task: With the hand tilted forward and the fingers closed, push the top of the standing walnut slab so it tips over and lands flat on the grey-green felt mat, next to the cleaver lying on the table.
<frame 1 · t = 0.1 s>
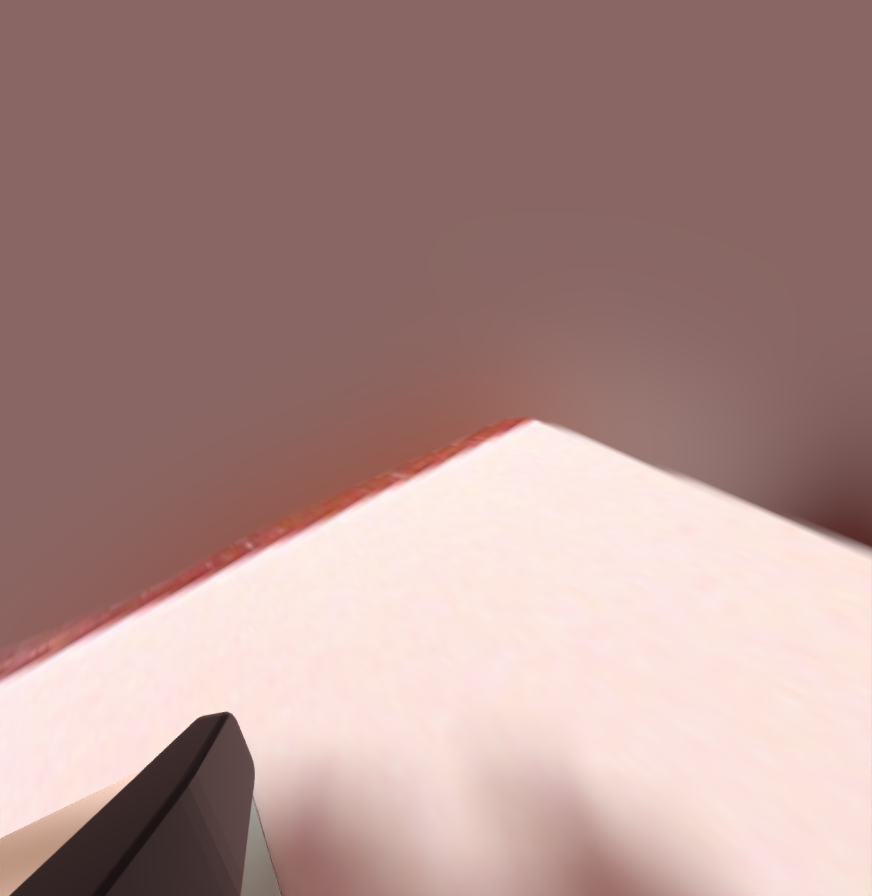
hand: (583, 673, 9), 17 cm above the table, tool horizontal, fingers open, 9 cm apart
mat: (136, 895, 28), on the table
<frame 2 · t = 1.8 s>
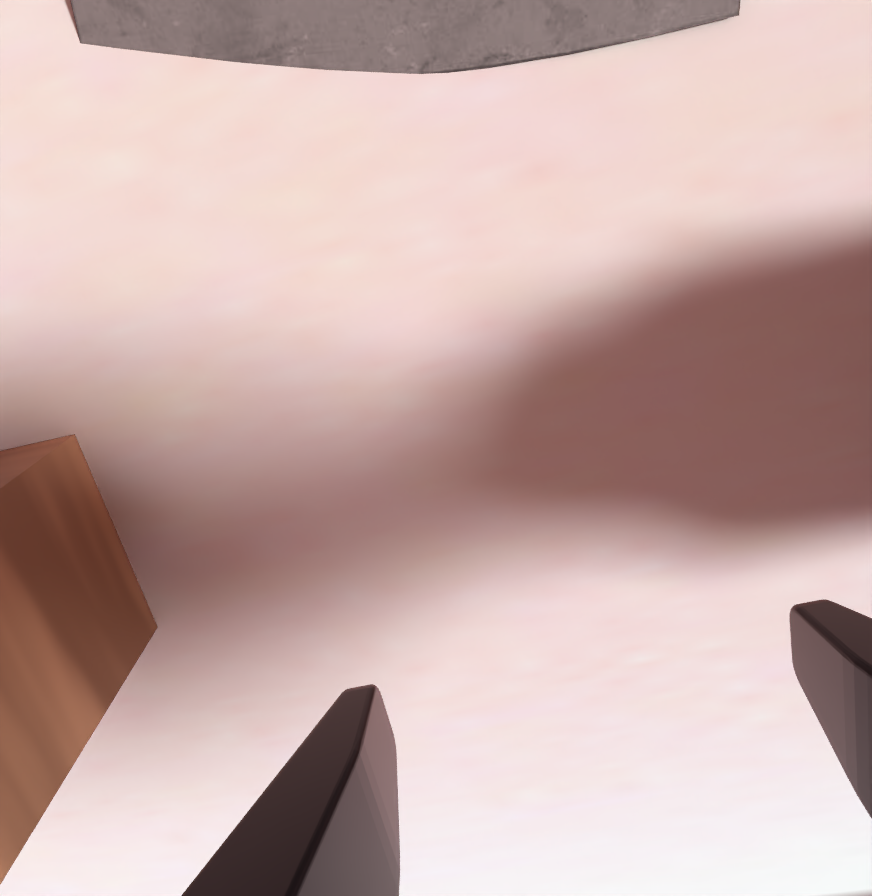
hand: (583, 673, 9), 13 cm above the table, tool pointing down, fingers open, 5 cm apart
slab: (73, 545, 23), on the table
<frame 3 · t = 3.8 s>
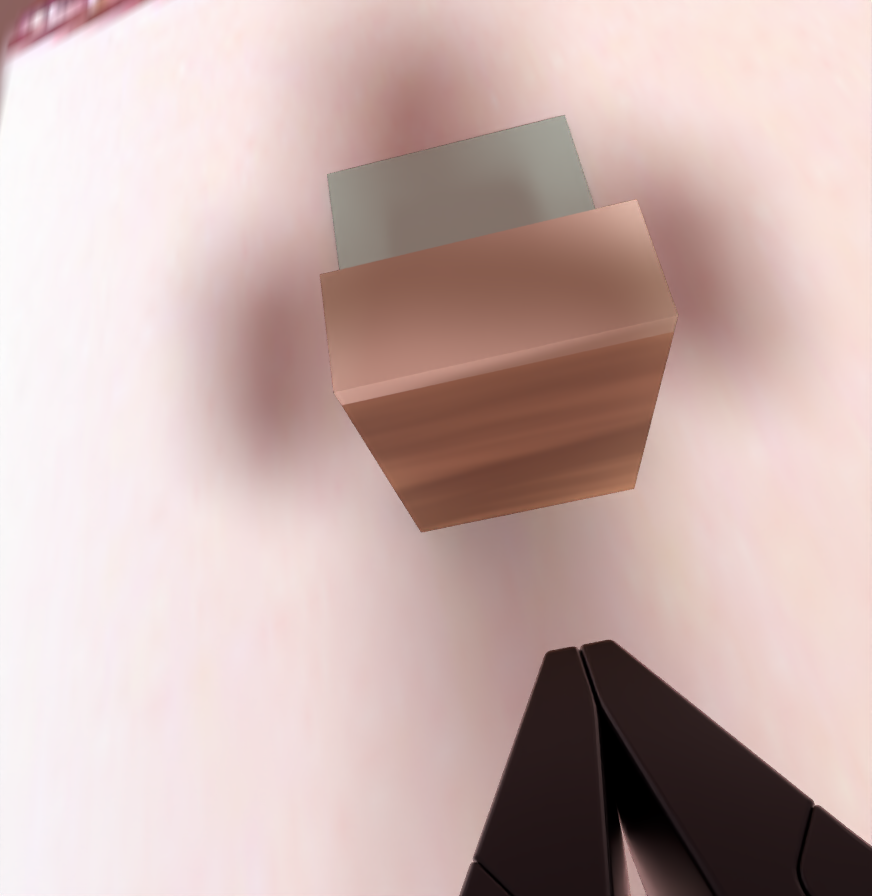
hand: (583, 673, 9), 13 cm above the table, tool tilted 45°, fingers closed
slab: (516, 468, 24), on the table
mat: (471, 265, 28), on the table
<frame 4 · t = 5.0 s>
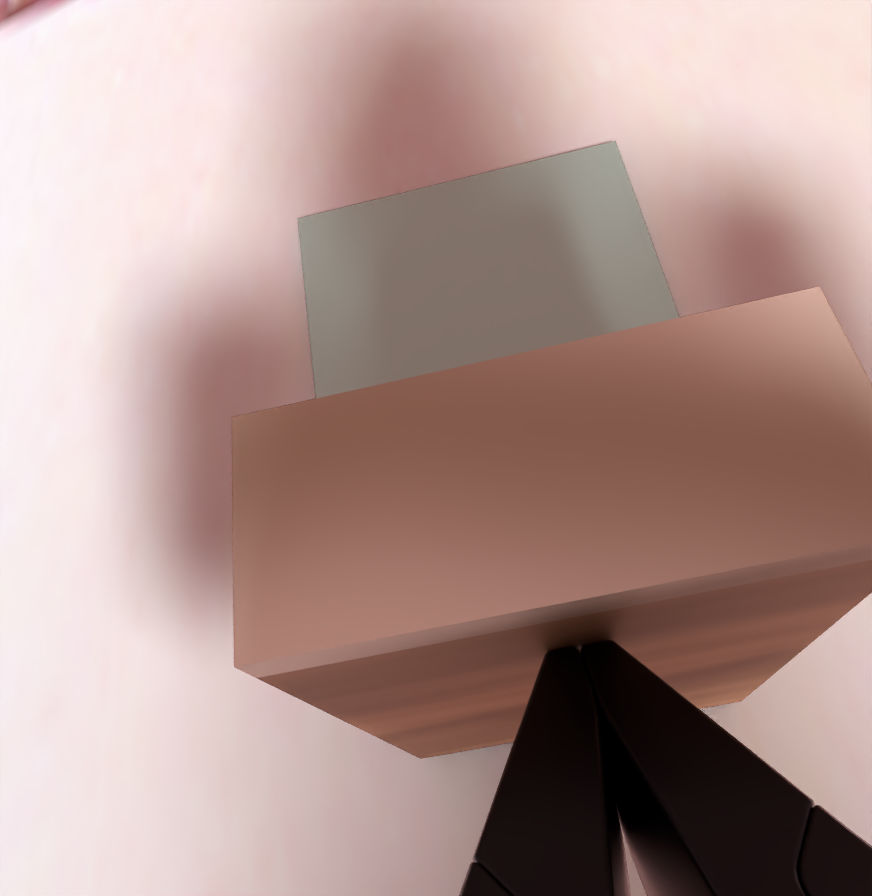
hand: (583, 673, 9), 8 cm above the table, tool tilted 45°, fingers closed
slab: (562, 660, 17), on the table
mat: (491, 348, 20), on the table
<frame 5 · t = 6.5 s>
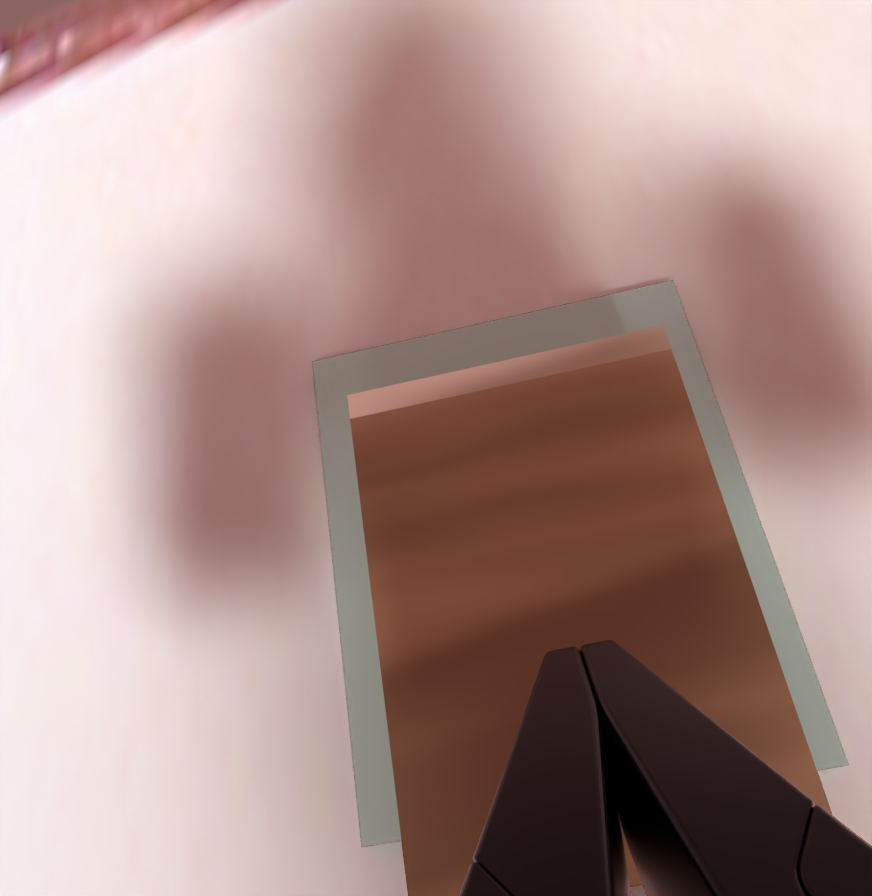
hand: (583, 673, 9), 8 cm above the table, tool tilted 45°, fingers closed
slab: (616, 874, 13), point 2 cm above the table, tilted 90°, touching mat
mat: (536, 533, 18), on the table
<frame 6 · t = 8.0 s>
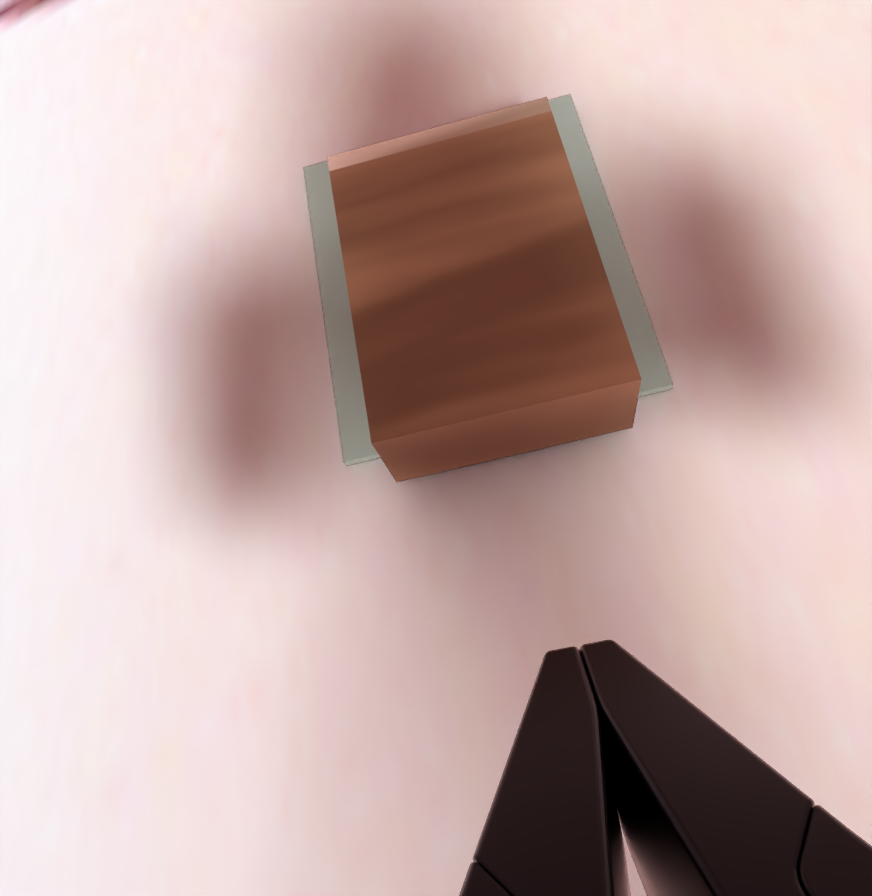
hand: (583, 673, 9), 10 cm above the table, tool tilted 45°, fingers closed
slab: (508, 435, 20), point 2 cm above the table, tilted 90°, touching mat
mat: (467, 268, 24), on the table
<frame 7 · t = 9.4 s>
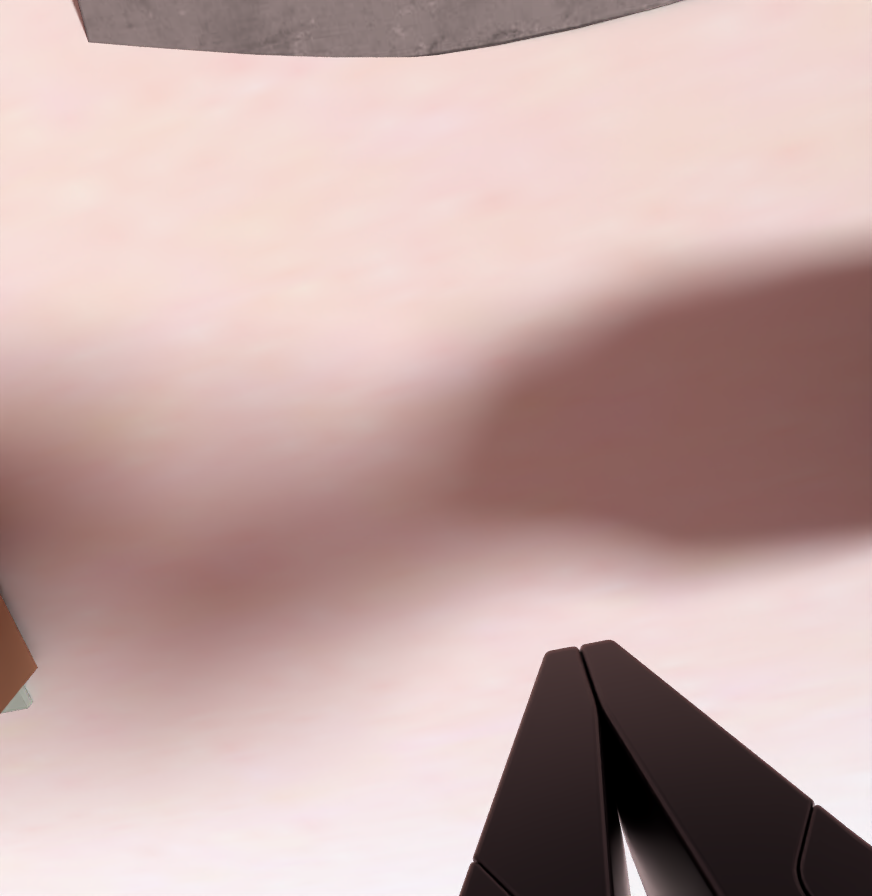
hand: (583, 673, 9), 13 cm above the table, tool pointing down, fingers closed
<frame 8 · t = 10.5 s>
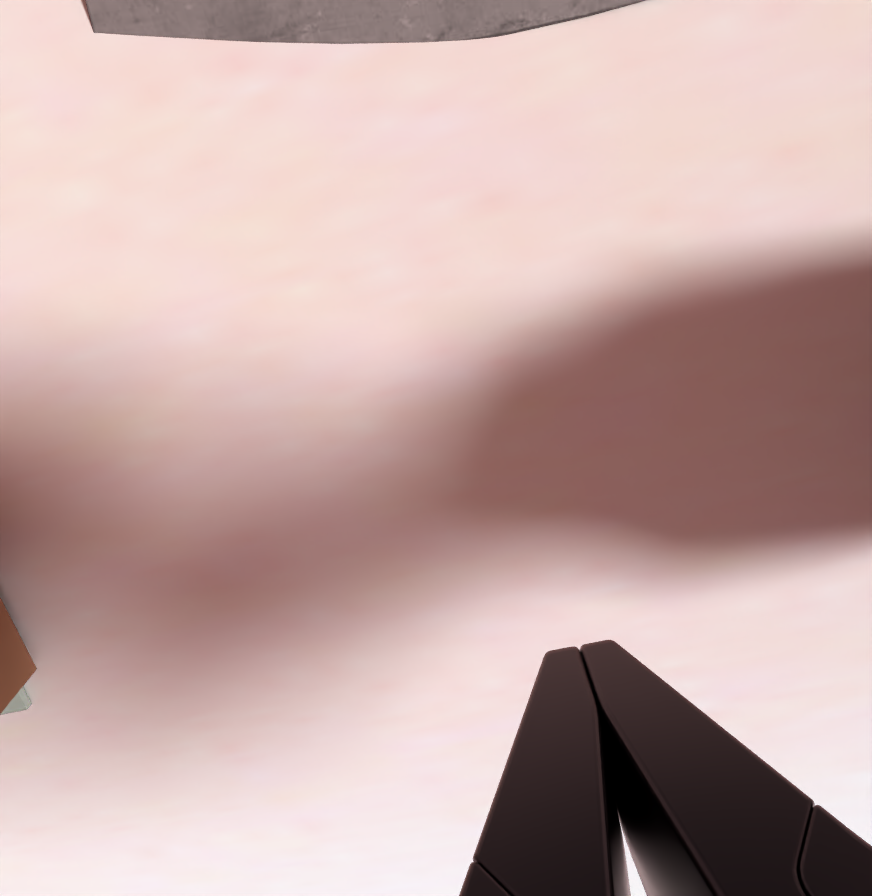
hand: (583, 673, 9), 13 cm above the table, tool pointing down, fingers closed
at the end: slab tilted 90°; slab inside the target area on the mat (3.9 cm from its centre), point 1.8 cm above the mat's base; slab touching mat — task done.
